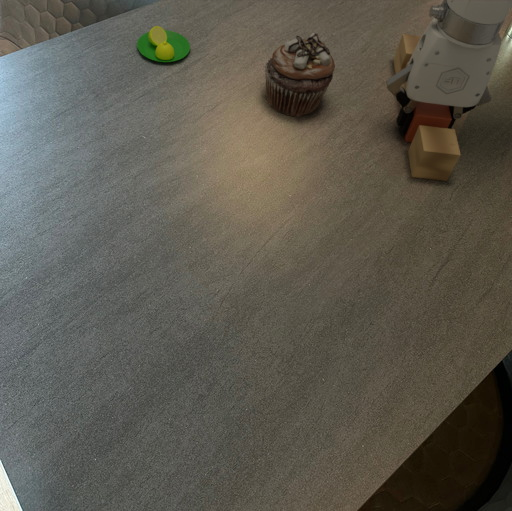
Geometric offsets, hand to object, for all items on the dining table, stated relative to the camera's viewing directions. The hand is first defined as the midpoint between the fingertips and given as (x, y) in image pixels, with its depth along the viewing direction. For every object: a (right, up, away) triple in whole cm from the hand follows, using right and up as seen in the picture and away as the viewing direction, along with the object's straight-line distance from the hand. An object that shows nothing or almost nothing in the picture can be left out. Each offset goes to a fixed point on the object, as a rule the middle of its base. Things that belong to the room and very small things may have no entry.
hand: (421, 129), depth 92 cm
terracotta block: (0, 0, 0) cm, 0 cm away
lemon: (-38, +13, +5) cm, 41 cm away
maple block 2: (0, -6, -4) cm, 7 cm away
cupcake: (-19, +5, +1) cm, 19 cm away
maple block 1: (+1, +11, +9) cm, 14 cm away
